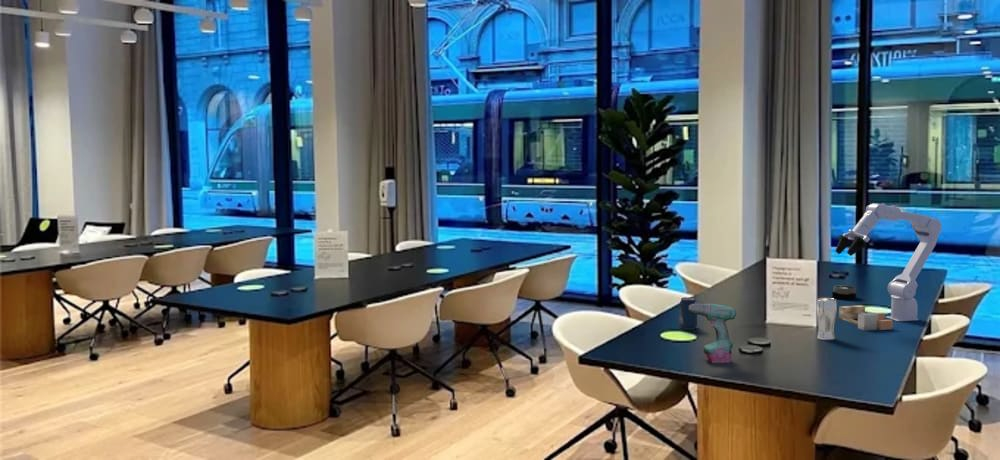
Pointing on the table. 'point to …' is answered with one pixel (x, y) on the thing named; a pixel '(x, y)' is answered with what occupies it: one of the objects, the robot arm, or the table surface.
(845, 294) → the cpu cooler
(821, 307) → the beer glass
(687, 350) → the table surface
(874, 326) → the block
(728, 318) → the power drill
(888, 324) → the brown stepped block
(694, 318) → the soda can
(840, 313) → the vise body
